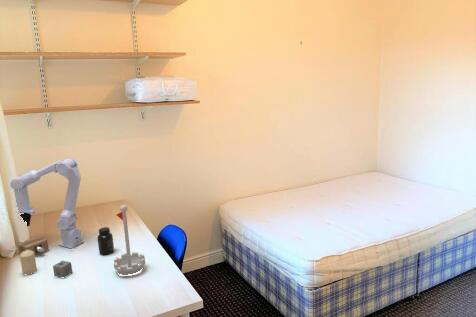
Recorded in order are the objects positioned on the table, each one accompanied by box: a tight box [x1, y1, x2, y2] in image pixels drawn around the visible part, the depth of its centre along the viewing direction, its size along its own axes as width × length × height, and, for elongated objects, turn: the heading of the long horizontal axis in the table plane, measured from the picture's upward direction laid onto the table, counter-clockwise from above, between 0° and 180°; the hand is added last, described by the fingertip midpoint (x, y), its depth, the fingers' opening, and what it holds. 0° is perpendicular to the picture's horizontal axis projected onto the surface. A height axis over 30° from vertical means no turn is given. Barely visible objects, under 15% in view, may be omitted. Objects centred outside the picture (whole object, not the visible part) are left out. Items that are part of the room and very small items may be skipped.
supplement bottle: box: [97, 226, 115, 256], centre depth 179 cm, size 7×7×12 cm
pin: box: [26, 239, 45, 252], centre depth 180 cm, size 12×5×5 cm, turn 62°
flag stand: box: [113, 204, 146, 275], centre depth 159 cm, size 13×13×30 cm
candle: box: [19, 250, 38, 275], centre depth 163 cm, size 6×6×10 cm
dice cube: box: [52, 260, 73, 278], centre depth 160 cm, size 5×5×5 cm
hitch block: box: [16, 236, 50, 258], centre depth 181 cm, size 8×10×6 cm
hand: (26, 226), depth 189 cm, fingers closed
